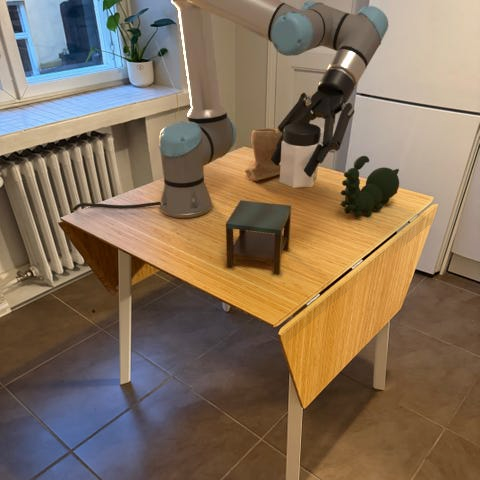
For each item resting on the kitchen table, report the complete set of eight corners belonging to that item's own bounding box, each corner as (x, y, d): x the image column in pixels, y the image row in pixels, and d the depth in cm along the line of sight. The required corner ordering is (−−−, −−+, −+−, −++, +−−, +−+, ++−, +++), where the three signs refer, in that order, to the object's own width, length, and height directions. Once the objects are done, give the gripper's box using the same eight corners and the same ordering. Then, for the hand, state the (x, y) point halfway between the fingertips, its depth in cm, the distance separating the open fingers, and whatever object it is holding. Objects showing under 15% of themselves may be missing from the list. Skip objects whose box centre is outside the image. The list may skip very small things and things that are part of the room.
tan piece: (270, 164, 169) (271, 121, 160) (292, 174, 161) (294, 129, 152) (236, 174, 162) (235, 129, 153) (257, 185, 154) (258, 139, 145)
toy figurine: (357, 232, 132) (407, 199, 144) (364, 168, 119) (418, 137, 131) (331, 221, 138) (381, 190, 149) (335, 159, 125) (390, 130, 136)
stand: (227, 267, 115) (225, 223, 108) (240, 242, 125) (240, 200, 118) (278, 274, 113) (281, 229, 105) (288, 248, 122) (291, 205, 115)
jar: (324, 182, 110) (330, 129, 102) (299, 191, 105) (304, 137, 98) (296, 171, 115) (300, 119, 107) (272, 179, 111) (274, 126, 103)
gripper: (387, 98, 102) (335, 189, 103) (308, 81, 114) (262, 164, 115) (379, 75, 96) (323, 172, 97) (296, 60, 107) (247, 147, 109)
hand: (290, 168), depth 106 cm, fingers closed on jar, 9 cm apart
